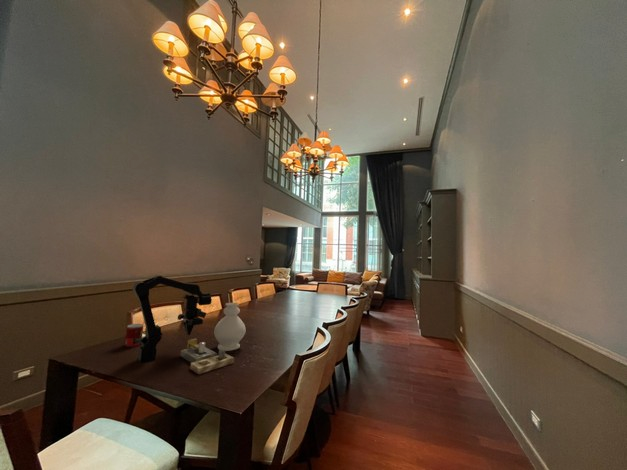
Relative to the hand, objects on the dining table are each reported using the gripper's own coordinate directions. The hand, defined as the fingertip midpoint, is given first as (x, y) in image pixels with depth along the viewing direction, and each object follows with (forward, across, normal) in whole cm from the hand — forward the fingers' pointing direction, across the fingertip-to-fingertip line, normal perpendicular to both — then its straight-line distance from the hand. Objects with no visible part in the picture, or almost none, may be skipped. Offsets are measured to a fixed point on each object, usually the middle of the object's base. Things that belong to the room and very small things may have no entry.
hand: (188, 334), depth 140 cm
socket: (+9, -13, 0) cm, 16 cm away
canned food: (+9, +29, +18) cm, 35 cm away
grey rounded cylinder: (+9, -15, 0) cm, 18 cm away
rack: (+9, -27, 0) cm, 28 cm away
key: (+5, -8, 0) cm, 10 cm away
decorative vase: (+9, -10, -20) cm, 24 cm away
